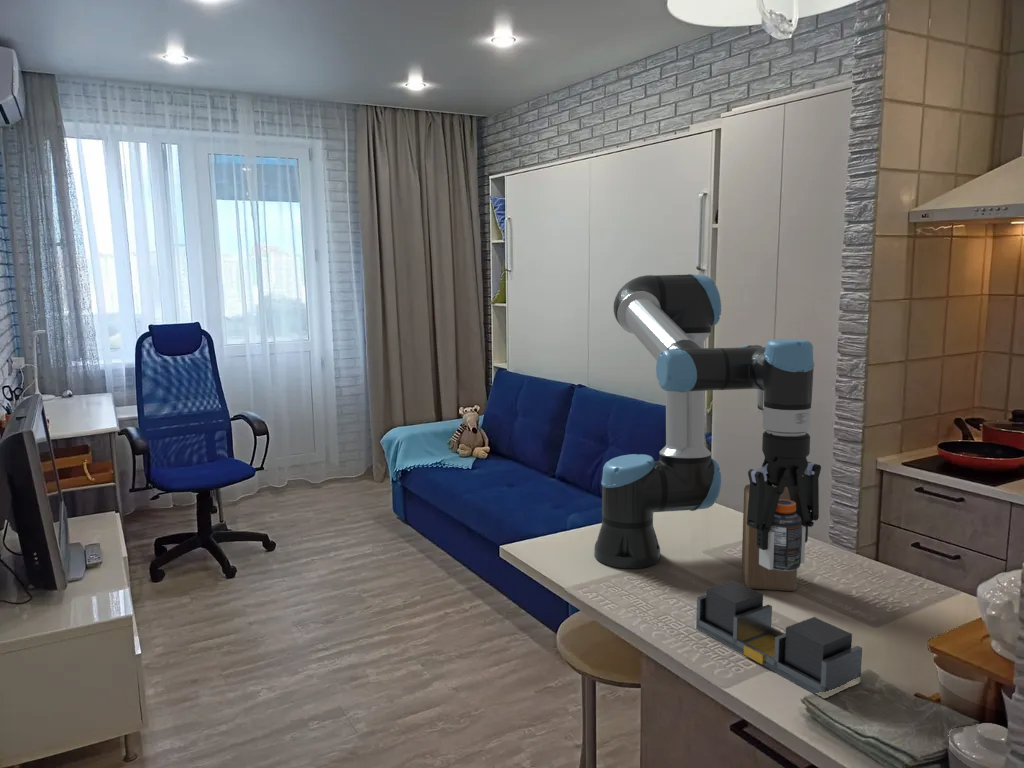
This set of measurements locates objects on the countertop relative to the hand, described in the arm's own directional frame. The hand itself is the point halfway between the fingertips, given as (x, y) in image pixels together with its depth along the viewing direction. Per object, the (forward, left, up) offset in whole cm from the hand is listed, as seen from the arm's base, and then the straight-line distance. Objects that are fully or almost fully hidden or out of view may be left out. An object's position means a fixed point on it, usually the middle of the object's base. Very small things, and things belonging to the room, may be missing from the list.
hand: (781, 563), depth 127 cm
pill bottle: (0, 0, -1) cm, 1 cm away
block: (-20, +21, -15) cm, 33 cm away
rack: (+1, -3, -15) cm, 16 cm away
